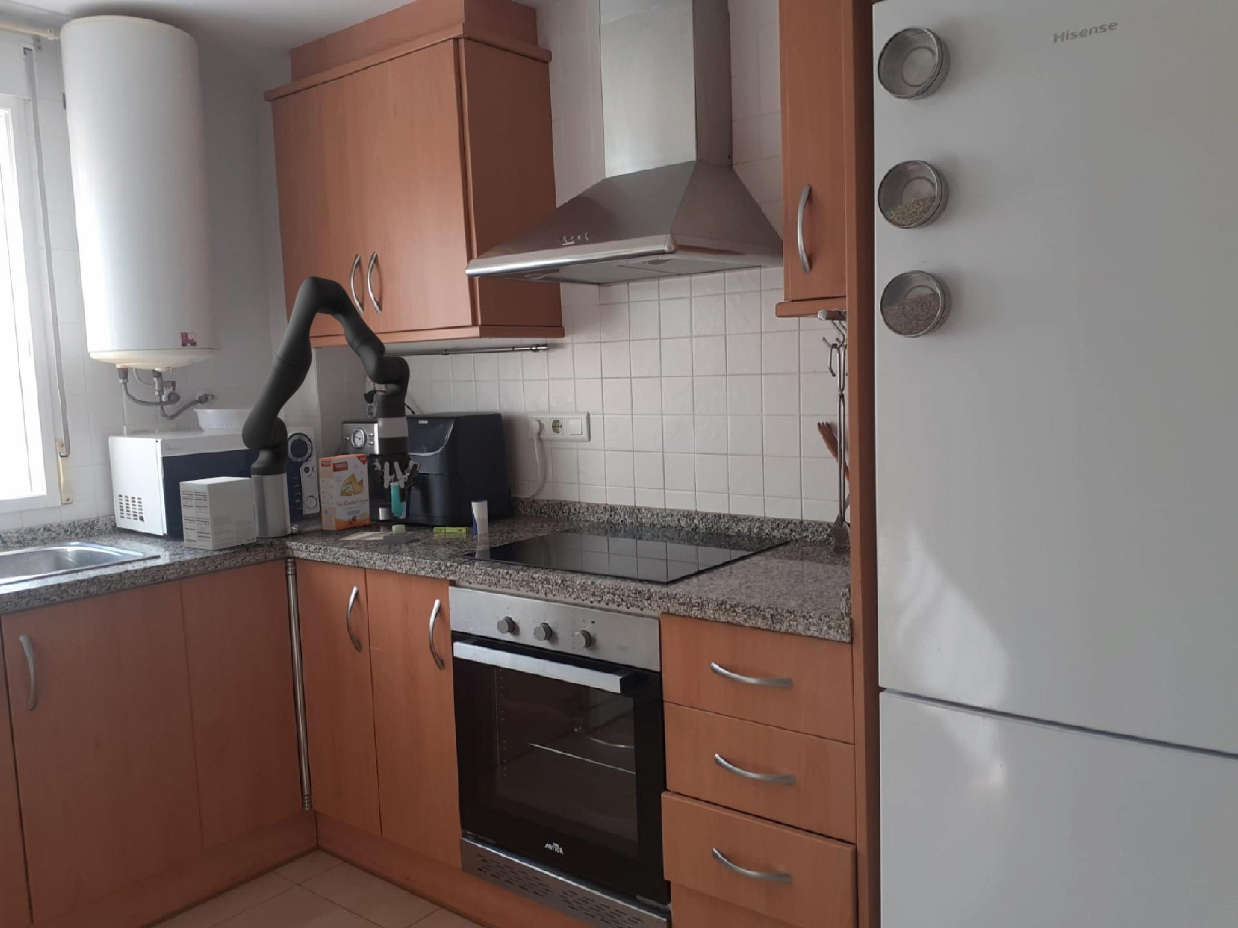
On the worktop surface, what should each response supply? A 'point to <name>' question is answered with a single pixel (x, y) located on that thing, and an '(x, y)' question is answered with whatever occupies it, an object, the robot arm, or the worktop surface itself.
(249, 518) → the supplement box
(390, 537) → the button housing
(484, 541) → the worktop surface
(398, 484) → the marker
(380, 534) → the framed whiteboard
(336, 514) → the cracker box
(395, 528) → the button
